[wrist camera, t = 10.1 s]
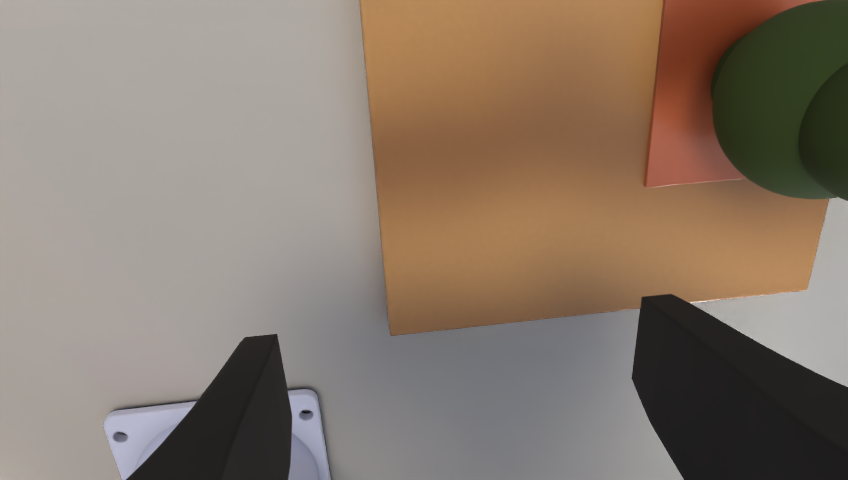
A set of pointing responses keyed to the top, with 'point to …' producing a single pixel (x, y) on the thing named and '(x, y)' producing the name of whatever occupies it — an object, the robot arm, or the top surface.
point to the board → (565, 161)
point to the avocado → (788, 102)
